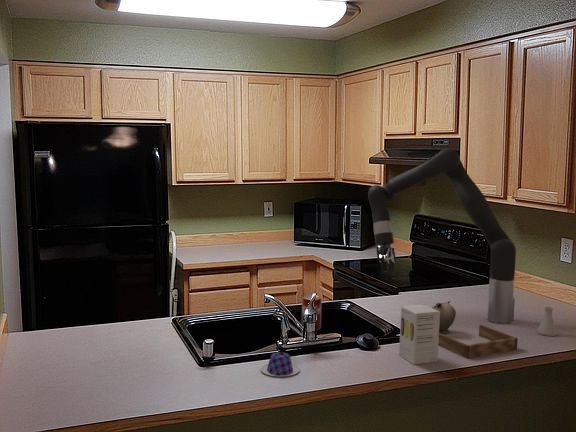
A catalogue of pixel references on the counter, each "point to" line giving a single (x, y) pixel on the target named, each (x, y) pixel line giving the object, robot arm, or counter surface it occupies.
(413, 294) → the counter surface
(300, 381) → the counter surface
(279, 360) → the pudding
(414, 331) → the supplement box
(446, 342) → the frame
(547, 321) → the flask
